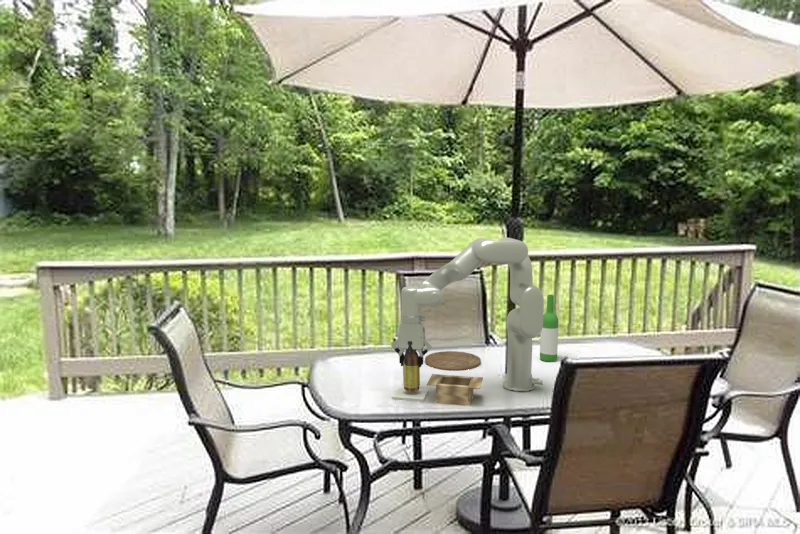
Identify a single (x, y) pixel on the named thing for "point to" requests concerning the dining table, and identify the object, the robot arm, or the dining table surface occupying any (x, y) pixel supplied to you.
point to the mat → (410, 394)
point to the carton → (454, 388)
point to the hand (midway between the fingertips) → (411, 365)
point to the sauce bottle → (411, 369)
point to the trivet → (452, 360)
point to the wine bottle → (549, 333)
